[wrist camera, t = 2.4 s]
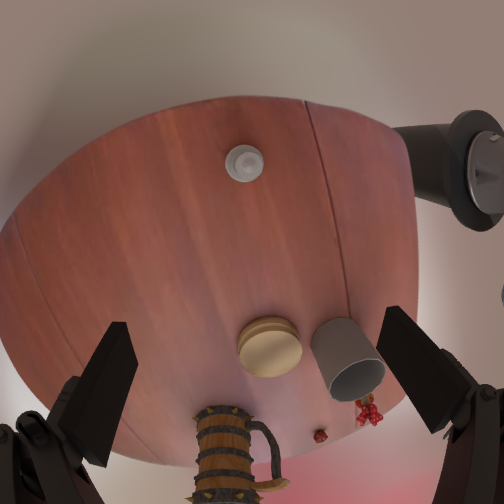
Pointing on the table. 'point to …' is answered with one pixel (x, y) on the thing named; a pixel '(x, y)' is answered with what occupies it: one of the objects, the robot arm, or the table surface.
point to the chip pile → (269, 347)
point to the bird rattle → (368, 410)
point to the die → (320, 437)
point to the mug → (231, 458)
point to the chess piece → (244, 163)
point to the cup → (347, 360)
